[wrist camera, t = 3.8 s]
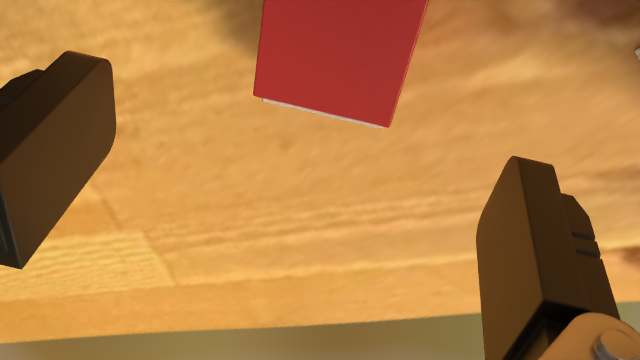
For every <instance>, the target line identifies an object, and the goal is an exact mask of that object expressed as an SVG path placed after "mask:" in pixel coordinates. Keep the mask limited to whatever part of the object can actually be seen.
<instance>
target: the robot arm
mask: <svg viewBox="0 0 640 360" xmlns="http://www.w3.org/2000/svg"><path fill="white" fill-rule="evenodd" d="M115 133H116V115H115V101H114V87H113V73H112V67H111V64H110V62H109V61H108V60H107V59H104V58H99V57H95V56H91V55H86V54H82V53H78V52H74V51H66V52H64V53H63V54H62V55H61V56H60V57H59V58H58V59H56V60H55V61H54V62H53V63H52V64H51V65H50V66H49V67H48V68H46V69H45V70H44V71H43V70H39V69H36V70H33V71H31V72H28V73H26V74H24V75H21V76H19V77H16V78H14V79H11V80H10V81H9V82H8V83H7V84H6V85H4V86H3V87H2V88H1V89H0V265H5V266H9V267H13V268H17V269H21V270H22V269H23V267H24V266H25V265H26V263H27V262H28V261H29V259H30V258H31V257H32V255H33V254H34V253H35V251H36V250H37V249H38V247H39V246H40V245H41V243H42V242H43V241H44V239H45V238H46V237H47V235H48V234H49V232H50V231H51V230H52V228H53V227H54V226H55V224H56V223H57V222H58V220H59V219H60V218H61V216H62V215H63V214H64V212H65V211H66V210H67V208H68V207H69V206H70V204H71V203H72V202H73V200H74V199H75V198H76V196H77V195H78V194H79V192H80V191H81V190H82V188H83V187H84V186H85V184H86V183H87V182H88V180H89V179H90V178H91V176H92V175H93V174H94V172H95V171H96V170H97V168H98V167H99V166H100V164H101V163H102V162H103V160H104V159H105V158H106V156H107V155H108V153H109V152H110V150H111V147H112V145H113V142H114V138H115ZM476 247H477V260H478V273H479V286H480V299H481V312H482V323H483V337H484V350H485V360H640V333H639V332H638V331H636V330H635V329H634V328H632V327H631V326H630V325H628V324H626V323H625V322H623V321H621V320H620V316H619V313H618V310H617V307H616V303H615V300H614V297H613V293H612V290H611V287H610V284H609V280H608V277H607V274H606V271H605V267H604V264H603V261H602V259H600V255H601V254H600V251H599V248H598V244H597V242H595V235H594V231H593V228H592V225H591V222H590V218H589V216H588V215H587V214H586V212H585V211H584V210H583V208H582V207H581V206H580V205H579V203H578V202H577V201H576V199H575V198H574V197H573V196H571V195H567V194H562V193H561V192H560V188H559V184H558V180H557V177H556V173H555V169H554V167H553V165H551V164H547V163H543V162H538V161H534V160H530V159H526V158H521V157H517V156H512V157H511V158H510V159H509V160H508V162H507V163H506V165H505V167H504V169H503V171H502V173H501V175H500V177H499V179H498V181H497V183H496V185H495V187H494V189H493V191H492V193H491V195H490V197H489V199H488V201H487V204H486V206H485V208H484V210H483V212H482V214H481V217H480V220H479V224H478V228H477V235H476Z"/></svg>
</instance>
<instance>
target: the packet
mask: <svg viewBox="0 0 640 360" xmlns="http://www.w3.org/2000/svg"><path fill="white" fill-rule="evenodd" d="M428 2H429V0H264V2H263V11H262V20H261V29H260V38H259V46H258V55H257V64H256V73H255V82H254V91H253V95H254V96H256V97H260V98H262V101H264V102H268V103H272V104H277V105H281V106H285V107H289V108H294V109H298V110H302V111H306V112H311V113H315V114H319V115H323V116H328V117H332V118H336V119H340V120H345V121H349V122H353V123H357V124H361V125H366V126H370V127H374V128H378V129H382V128H383V127H387V128H388V127H390V125H391V122H392V119H393V115H394V112H395V109H396V106H397V102H398V99H399V96H400V93H401V89H402V86H403V83H404V80H405V77H406V73H407V70H408V67H409V64H410V60H411V57H412V54H413V51H414V48H415V44H416V41H417V38H418V35H419V31H420V28H421V25H422V22H423V18H424V15H425V12H426V9H427V6H428Z"/></svg>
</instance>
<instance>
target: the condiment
mask: <svg viewBox="0 0 640 360" xmlns="http://www.w3.org/2000/svg"><path fill="white" fill-rule="evenodd" d="M635 54H636V55H637V57H638V59H639V61H640V48H639V49H637V50H635Z"/></svg>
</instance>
